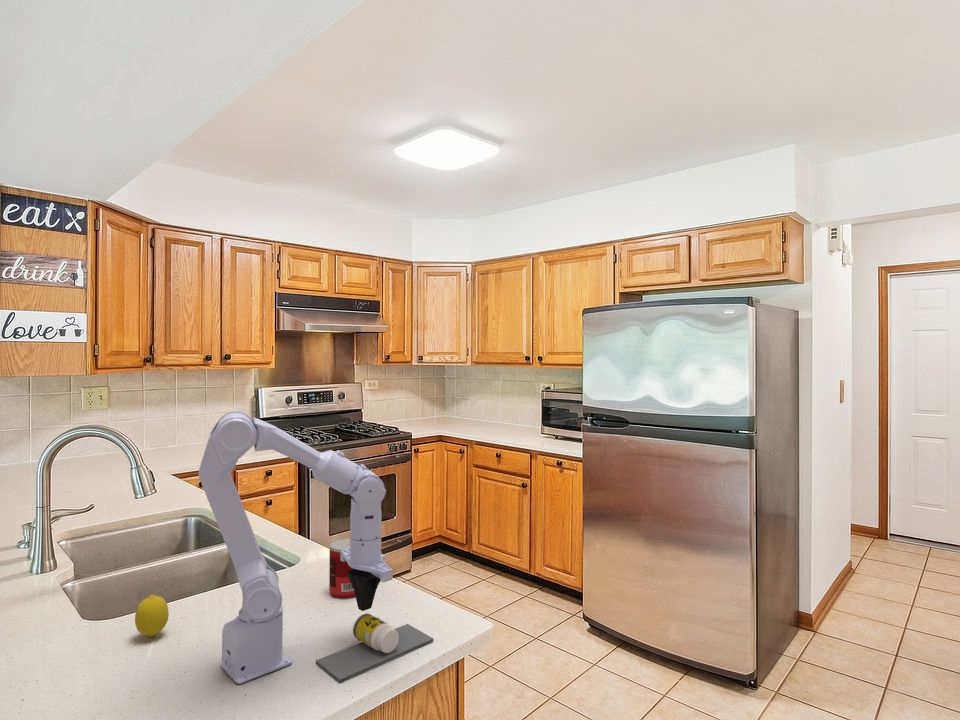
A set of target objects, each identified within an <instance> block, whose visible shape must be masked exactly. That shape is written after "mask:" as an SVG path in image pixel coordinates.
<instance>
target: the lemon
mask: <svg viewBox="0 0 960 720" xmlns="http://www.w3.org/2000/svg"><path fill="white" fill-rule="evenodd" d="M168 620H169V606H168V603H167V601H166V600H165V599H164V598H163V597H162V596H158V595H155V594H150V595H149V596H148V597H147V598H146V597H145V598H144V599H143V600H142V601H140V602H139V605H138V606H137V609H136V611H135V614H134V624H135V628H136V630H137V631H138V632H139V633H140V634H142V635H143V636H148V637H149V638H154V637H155V636H156V635H157V634H159V633H160V632H161V631H162V630H163V629H165V627H166V625H167V623H168Z"/></svg>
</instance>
